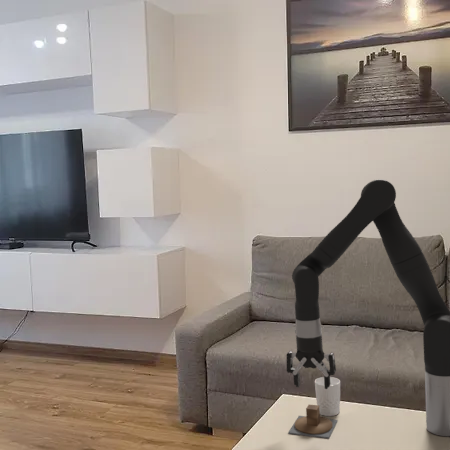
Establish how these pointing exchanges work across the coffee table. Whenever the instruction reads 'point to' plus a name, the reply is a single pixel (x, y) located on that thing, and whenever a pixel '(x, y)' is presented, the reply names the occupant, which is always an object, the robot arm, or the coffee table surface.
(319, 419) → the lid
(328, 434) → the mat
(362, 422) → the coffee table surface
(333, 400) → the white cup
